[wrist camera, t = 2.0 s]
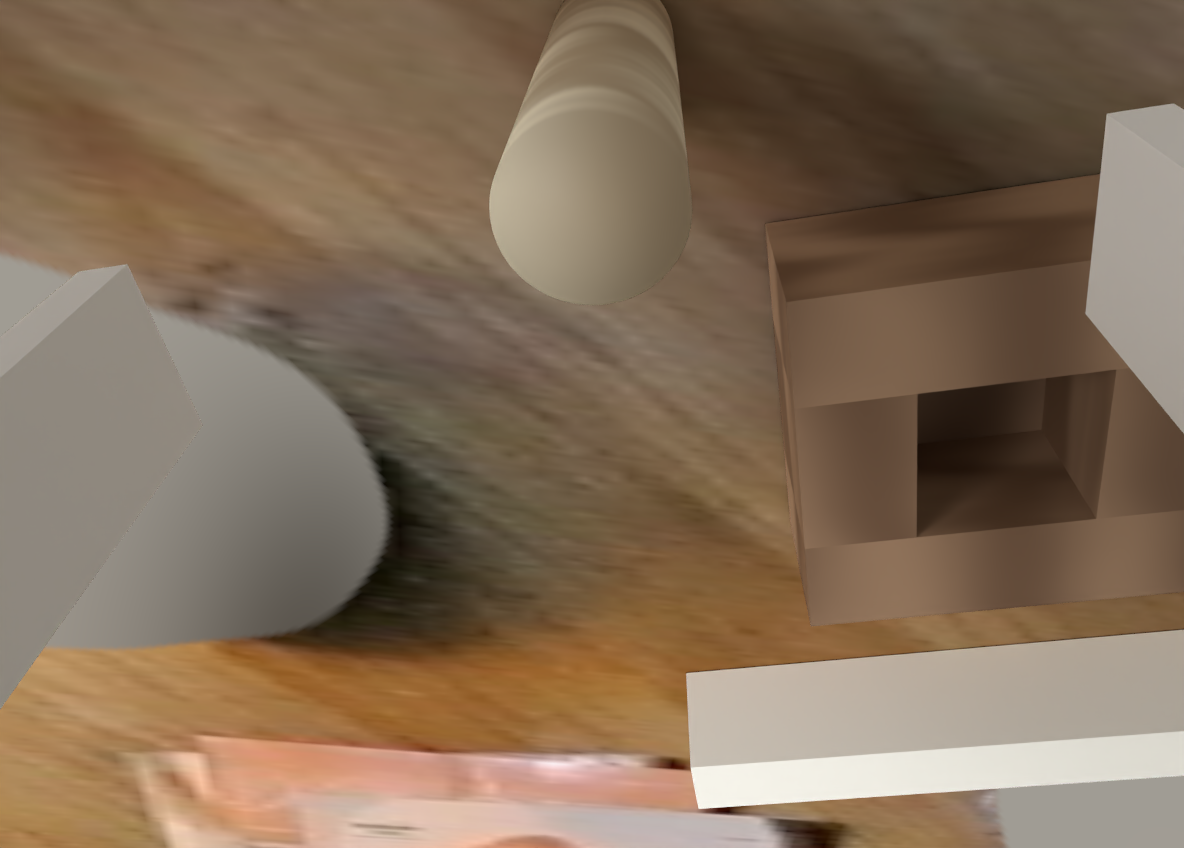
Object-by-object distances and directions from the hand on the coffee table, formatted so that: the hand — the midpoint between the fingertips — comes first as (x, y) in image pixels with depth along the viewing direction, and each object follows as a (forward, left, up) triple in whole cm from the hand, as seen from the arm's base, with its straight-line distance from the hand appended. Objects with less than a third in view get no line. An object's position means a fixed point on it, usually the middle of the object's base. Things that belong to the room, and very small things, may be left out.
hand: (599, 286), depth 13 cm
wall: (+9, -25, -14) cm, 30 cm away
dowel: (0, 0, -14) cm, 14 cm away
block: (+9, -11, -14) cm, 20 cm away
